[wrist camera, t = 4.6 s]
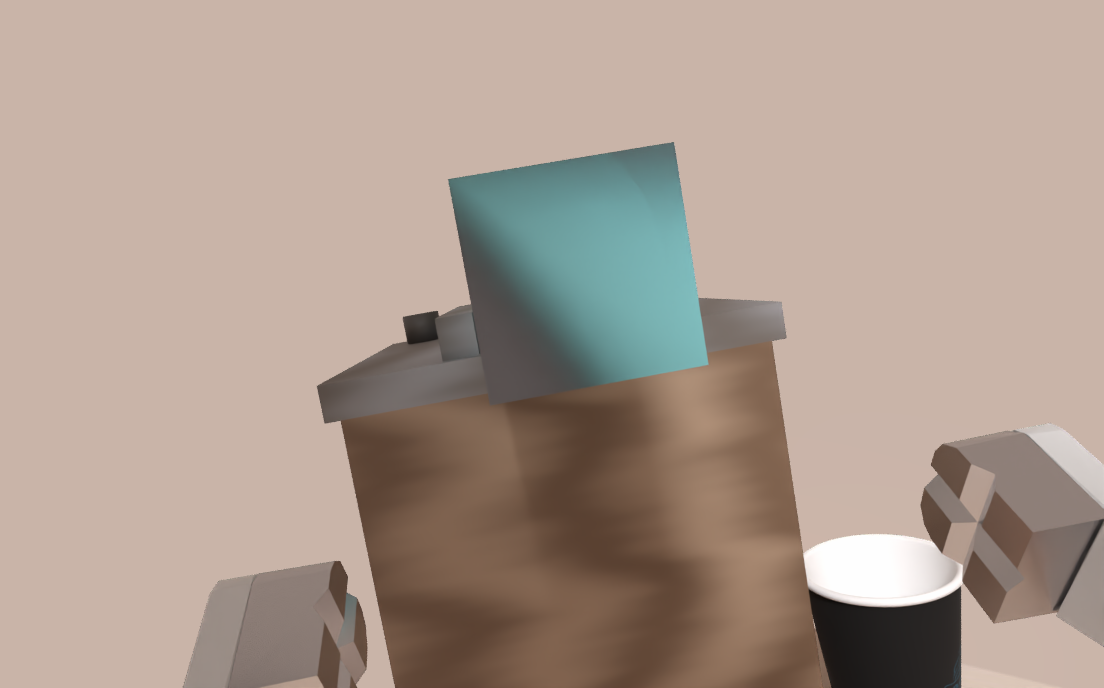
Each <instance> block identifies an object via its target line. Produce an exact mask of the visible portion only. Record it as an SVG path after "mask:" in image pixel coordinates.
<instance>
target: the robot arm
mask: <svg viewBox="0 0 1104 688" xmlns="http://www.w3.org/2000/svg"><path fill="white" fill-rule="evenodd" d="M931 466H932V467H933V468H934V469H935V471H936V472H937V473H938V475H937V476H936V477H935V478H934V479H933V480H932V481H931V482H930V483H929V484H928V485H927V486H926V487H925V488H924V492H923V496H922V501H921V510H922V515H923V520H924V525H925V527H926V529H927V531H928V533H929V535H930V537H931V539H932V541H933V542H934V544H935V545H936V546H937V548H938V549H939V551H940V552H941V553H942V554H943V555H945V556H947V557H948V558H950V559H952V560H954V561H956V562H958V563H960V564H961V565H963V572H962V582H963V583H964V584H965V586H966V587H967V588H968V590H969V591H970V592H971V594H972V595H973V596H974V598H975V599H976V600H977V602H978V603H979V604H980V606H981V607H982V608H983V610H984V611H985V612H986V614H987V615H988V616H989V617H990V619H991V620H992V622H993V623H1000V622H1006V621H1011V620H1017V619H1023V618H1028V617H1033V616H1039V615H1045V614H1050V613H1056V612H1058V613H1057V615H1056V616H1057V617H1058V618H1060V619H1061V620H1063V621H1065V622H1066V623H1068V624H1069V625H1071V626H1072V627H1074V628H1075V629H1077V630H1078V631H1080V632H1081V633H1083V634H1085V635H1086V636H1088V637H1089V638H1091V639H1093V640H1094V641H1095V642H1097V643H1099V644H1100V645H1102V646H1103V647H1104V465H1103V464H1102V463H1101V462H1100V461H1099V460H1098V459H1096V458H1095V457H1094V456H1093V455H1092V454H1091V453H1090V452H1089V451H1087V450H1086V449H1085V448H1084V447H1083V446H1082V445H1081V444H1080V443H1079V442H1077V441H1076V440H1075V439H1074V438H1073V437H1072V436H1071V435H1070V434H1068V433H1067V432H1066V431H1065V430H1064V429H1062V428H1061V427H1058V426H1056V425H1054V424H1051V423H1049V424H1043V425H1038V426H1033V427H1028V428H1023V429H1018V430H1013V431H1004V432H999V433H995V434H989V435H985V436H980V437H975V438H970V439H966V440H960V441H955V442H951V443H945V444H942V445H941V446H940V447H939V448H938V449H937V450H936V451H935V453H934V456H933V459H932V463H931ZM347 581H348V576H347V574H346V572H345V570H344V568H343V566H342V564H341V562H340V561H333V562H327V563H320V564H314V565H308V566H302V567H297V568H290V569H284V570H278V571H272V572H266V573H259V574H256V575H250V576H244V577H238V578H233V579H227V580H221V581H218V583H217V584H216V586H215V587H214V588H213V590H212V591H211V593H210V595H209V598H208V602H207V605H206V609H205V612H204V616H203V619H202V623H201V626H200V630H199V634H198V637H197V640H196V644H195V648H194V651H193V654H192V658H191V661H190V665H189V669H188V672H187V675H186V679H185V682H184V686H183V688H357V687H356V683H357V682H358V681H359V679H360V677H361V676H362V675H363V673H364V672H365V671H366V667H367V637H366V625H365V621H364V617H363V612H362V609H361V606H360V604H359V602H358V599H357V598H356V597H354V596H352V595H350V594H348V593H347Z"/></svg>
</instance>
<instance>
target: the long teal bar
mask: <svg viewBox="0 0 1104 688" xmlns="http://www.w3.org/2000/svg"><path fill="white" fill-rule="evenodd" d="M448 180H449V186H450V192H451V197H452V203H453V208H454V213H455V219H456V224H457V230H458V235H459V240H460V246H461V251H462V257H463V262H464V268H465V272H466V278H467V284H468V289H469V295H470V300H471V306H472V311H473V316H474V322H475V327H476V333H477V338H478V343H479V349H480V354H481V360H482V365H483V371H484V376H485V381H486V387H487V392H488V398H489V403H490V405H496V404H501V403H506V402H512V401H517V400H522V399H528V398H533V397H539V396H544V395H549V394H555V393H560V392H565V391H571V390H576V389H582V388H587V387H592V386H598V385H603V384H608V383H614V382H619V381H625V380H630V379H635V378H641V377H646V376H651V375H657V374H662V373H668V372H673V371H678V370H684V369H689V368H694V367H700V366H705V365H709V364H708V358H707V351H706V345H705V339H704V332H703V326H702V319H701V313H700V307H699V300H698V294H697V288H696V282H695V276H694V268H693V262H692V255H691V249H690V243H689V236H688V230H687V223H686V217H685V210H684V204H683V198H682V191H681V185H680V178H679V172H678V165H677V159H676V153H675V146H674V142H672V143H666V144H659V145H654V146H647V147H641V148H635V149H629V150H623V151H617V152H611V153H605V154H599V155H593V156H587V157H581V158H575V159H568V160H562V161H556V162H550V163H544V164H538V165H532V166H526V167H520V168H514V169H508V170H502V171H495V172H490V173H483V174H477V175H471V176H465V177H459V178H453V179H448Z"/></svg>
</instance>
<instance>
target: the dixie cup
mask: <svg viewBox="0 0 1104 688" xmlns="http://www.w3.org/2000/svg"><path fill="white" fill-rule="evenodd" d="M803 556H804V563H805V570H806V576H807V583H808V590H809V597H810V603H811V610H812V615H813V619H814V623H815V627H816V631H817V634H818V638H819V642H820V646H821V649H822V653H823V657H824V661H825V664H826V668H827V672H828V676H829V680H830V683H831V687H832V688H961V585H962V584H963V582H962V572H963V565H961V564H960V563H958V562H956V561H954V560H952V559H950V558H948V557H947V556H945V555H943V554H942V553H941V552H940V551H939V549H938V548H937V546H936V545H935V544H934V542H931V541H928V540H924V539H920V538H915V537H910V536H902V535H891V534H864V535H854V536H847V537H841V538H837V539H833V540H830V541H826V542H823V543H820V544H818V545H816V546H814V547H812V548H810V549H809V550H807V551H806V552H805V553H804V554H803Z"/></svg>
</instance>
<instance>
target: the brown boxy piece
mask: <svg viewBox="0 0 1104 688" xmlns="http://www.w3.org/2000/svg"><path fill="white" fill-rule="evenodd" d="M698 300H699V307H700V313H701V319H702V326H703V332H704V339H705V345H706V351H707V358H708V364H709V365H705V366H700V367H694V368H689V369H684V370H678V371H673V372H668V373H662V374H657V375H651V376H646V377H641V378H635V379H630V380H625V381H619V382H614V383H608V384H603V385H598V386H592V387H587V388H582V389H576V390H571V391H565V392H560V393H555V394H549V395H544V396H539V397H533V398H528V399H522V400H517V401H512V402H506V403H501V404H496V405H490V403H489V398H488V392H487V387H486V381H485V376H484V371H483V365H482V360H481V354H480V349H479V343H478V338H477V333H476V327H475V322H474V316H473V311H472V306H471V305H465V306H460V307H457V308H455V309H453V310H451V311H449V312H447V313H445V314H443V315H441V316H439V315H438V311H433V312H427V313H422V314H416V315H411V316H406V317H403V322H404V327H405V332H406V337H407V342H402V343H397V344H393V345H391V346H389V347H387V348H385V349H384V350H382V351H380V352H378V353H376V354H374V355H373V356H371V357H369V358H367V359H365V360H364V361H362V362H360V363H358V364H356V365H354V366H353V367H351V368H349V369H347V370H345V371H343V372H342V373H340V374H338V375H336V376H334V377H332V378H331V379H329V380H327V381H325V382H323V383H322V384H320V385H318V386H317V389H318V394H319V398H320V403H321V408H322V413H323V418H324V422H325V423H330V422H336V421H341V424H342V429H343V434H344V439H345V444H346V448H347V454H348V459H349V464H350V468H351V473H352V478H353V483H354V488H355V493H356V498H357V502H358V507H359V513H360V517H361V522H362V527H363V532H364V537H365V542H366V547H367V552H368V556H369V562H370V567H371V571H372V576H373V581H374V585H375V591H376V596H377V601H378V606H379V611H380V616H381V620H382V625H383V630H384V635H385V640H386V645H387V650H388V655H389V659H390V665H391V669H392V674H393V679H394V684H395V688H823V685H822V678H821V671H820V665H819V658H818V651H817V644H816V637H815V631H814V624H813V617H812V610H811V603H810V597H809V590H808V583H807V576H806V570H805V563H804V556H803V550H802V542H801V536H800V529H799V523H798V515H797V509H796V502H795V495H794V488H793V482H792V475H791V468H790V461H789V454H788V448H787V441H786V434H785V427H784V420H783V414H782V407H781V400H780V393H779V386H778V380H777V374H776V366H775V359H774V353H773V346H772V341H774V340H779V339H785V338H786V331H785V324H784V317H783V310H782V303H781V302H773V301H752V300H730V299H729V300H728V299H707V298H698Z"/></svg>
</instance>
